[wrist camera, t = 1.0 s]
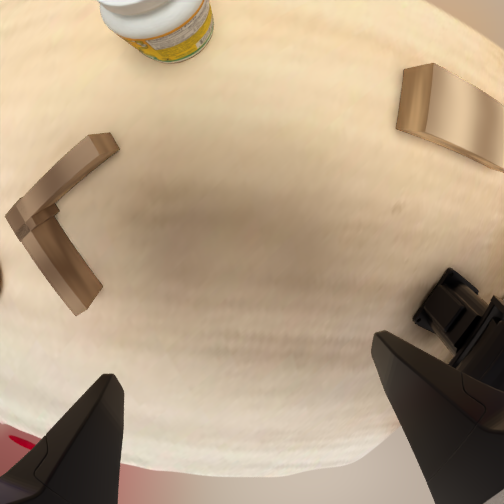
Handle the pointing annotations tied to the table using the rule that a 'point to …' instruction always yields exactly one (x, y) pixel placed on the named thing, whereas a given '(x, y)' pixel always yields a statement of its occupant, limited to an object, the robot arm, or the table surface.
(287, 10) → the table surface
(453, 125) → the beam
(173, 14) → the supplement bottle
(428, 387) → the robot arm
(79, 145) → the v block
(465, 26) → the table surface
